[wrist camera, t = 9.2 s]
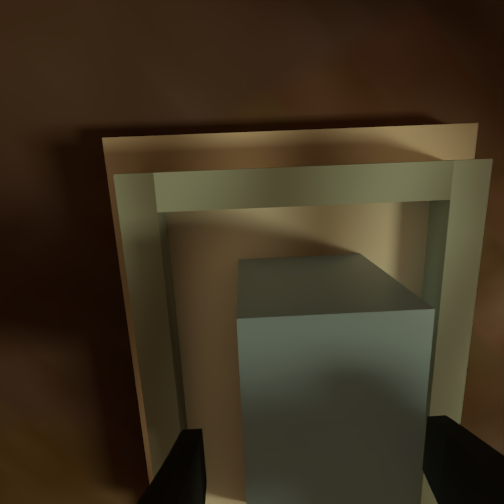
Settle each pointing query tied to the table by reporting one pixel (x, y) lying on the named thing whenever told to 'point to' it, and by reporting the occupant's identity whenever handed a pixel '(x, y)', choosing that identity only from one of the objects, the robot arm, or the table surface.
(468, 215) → the beige shallow rectangular tray
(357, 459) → the tall sage green box
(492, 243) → the table surface
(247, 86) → the table surface
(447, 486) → the robot arm
